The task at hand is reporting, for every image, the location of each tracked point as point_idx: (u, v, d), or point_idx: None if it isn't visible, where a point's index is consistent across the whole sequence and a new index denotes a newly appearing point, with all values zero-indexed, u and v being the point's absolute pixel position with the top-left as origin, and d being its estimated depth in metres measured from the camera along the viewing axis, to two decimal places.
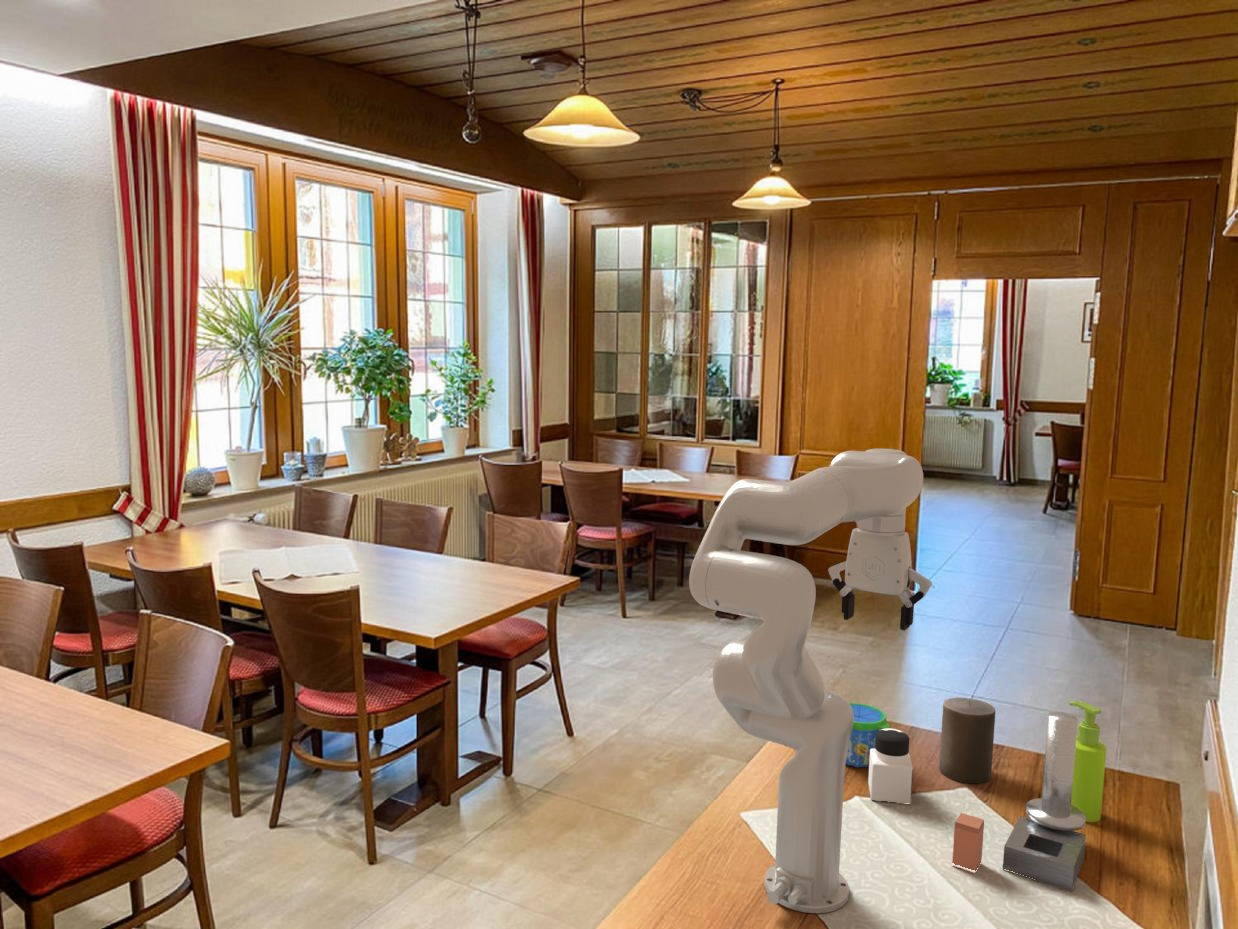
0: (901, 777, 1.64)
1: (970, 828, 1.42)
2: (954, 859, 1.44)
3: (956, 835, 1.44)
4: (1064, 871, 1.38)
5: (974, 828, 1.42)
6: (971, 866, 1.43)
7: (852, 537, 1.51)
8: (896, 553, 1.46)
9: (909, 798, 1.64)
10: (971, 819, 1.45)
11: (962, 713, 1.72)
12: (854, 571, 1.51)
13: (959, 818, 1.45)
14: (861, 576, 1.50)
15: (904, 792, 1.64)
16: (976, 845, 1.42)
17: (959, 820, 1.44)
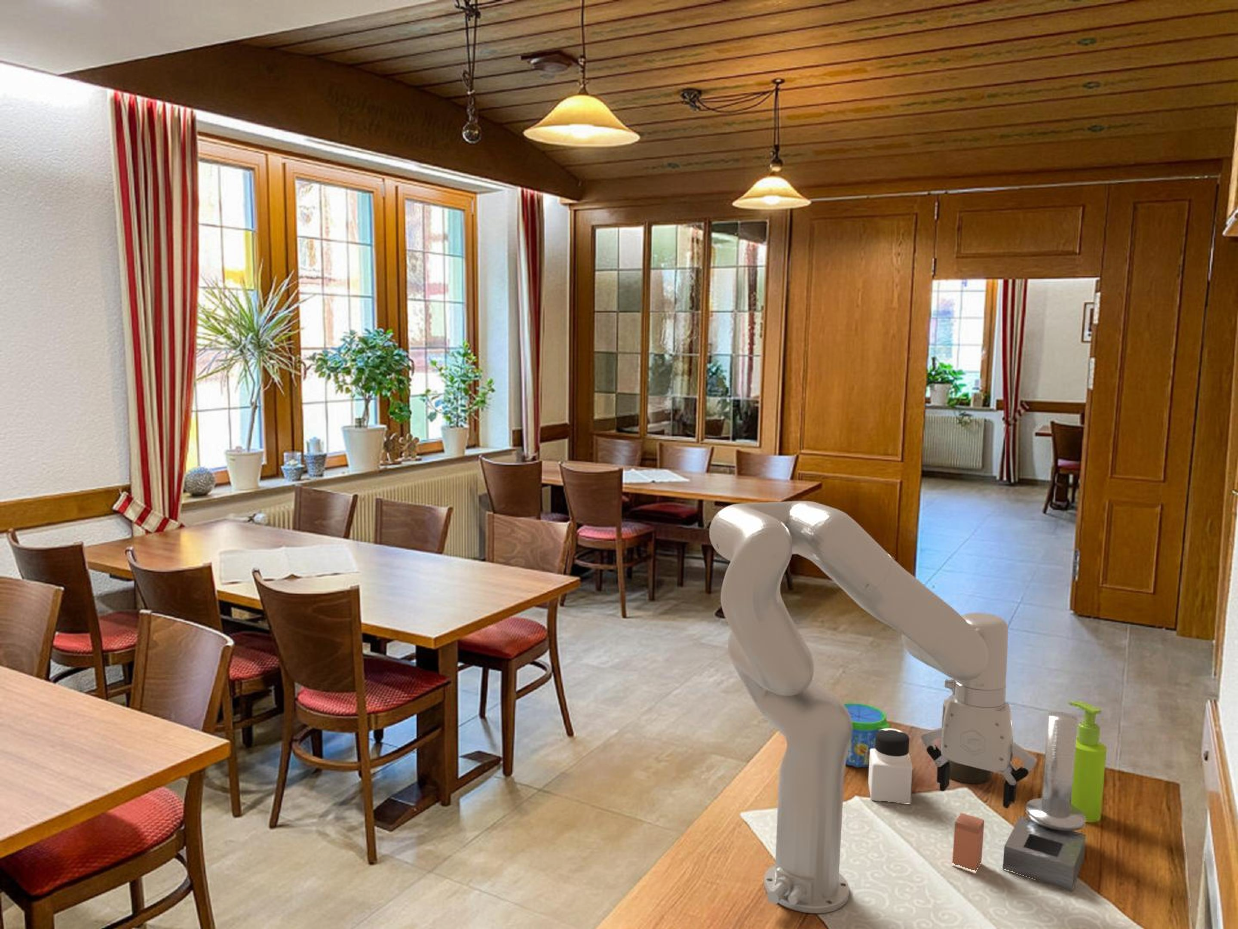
0: (901, 777, 1.64)
1: (970, 828, 1.42)
2: (954, 859, 1.44)
3: (956, 835, 1.44)
4: (1064, 871, 1.38)
5: (974, 828, 1.42)
6: (971, 866, 1.43)
7: (948, 707, 1.42)
8: (998, 729, 1.38)
9: (909, 798, 1.64)
10: (971, 819, 1.45)
11: None
12: (951, 743, 1.42)
13: (959, 818, 1.45)
14: (959, 749, 1.41)
15: (904, 792, 1.64)
16: (976, 845, 1.42)
17: (959, 820, 1.44)
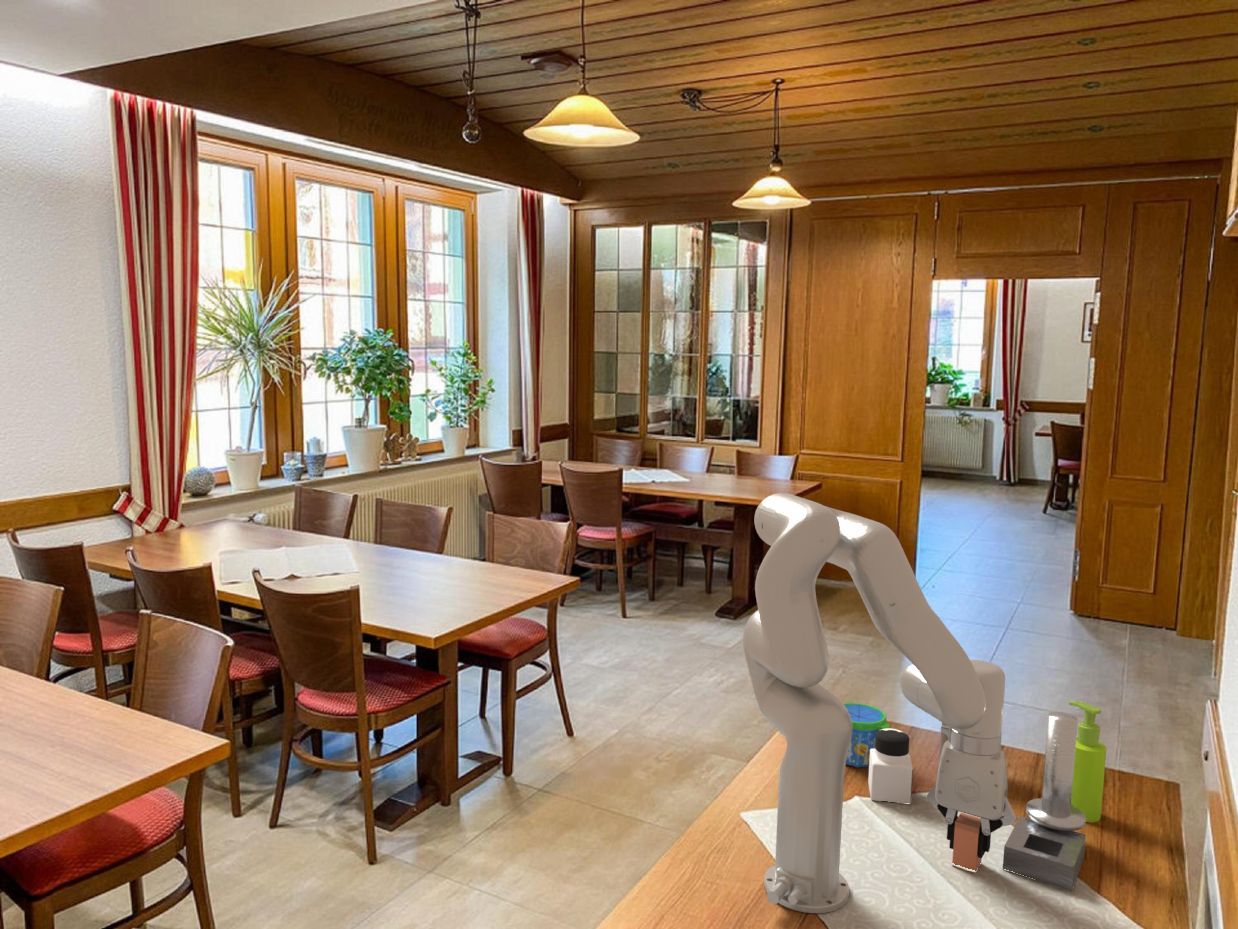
0: (901, 777, 1.64)
1: (970, 828, 1.42)
2: (954, 859, 1.44)
3: (956, 835, 1.44)
4: (1064, 871, 1.38)
5: (974, 828, 1.42)
6: (971, 866, 1.43)
7: (944, 754, 1.43)
8: (992, 777, 1.39)
9: (909, 798, 1.64)
10: (971, 818, 1.45)
11: None
12: (946, 790, 1.43)
13: (959, 818, 1.45)
14: (953, 796, 1.42)
15: (904, 792, 1.64)
16: (976, 845, 1.42)
17: (959, 820, 1.44)
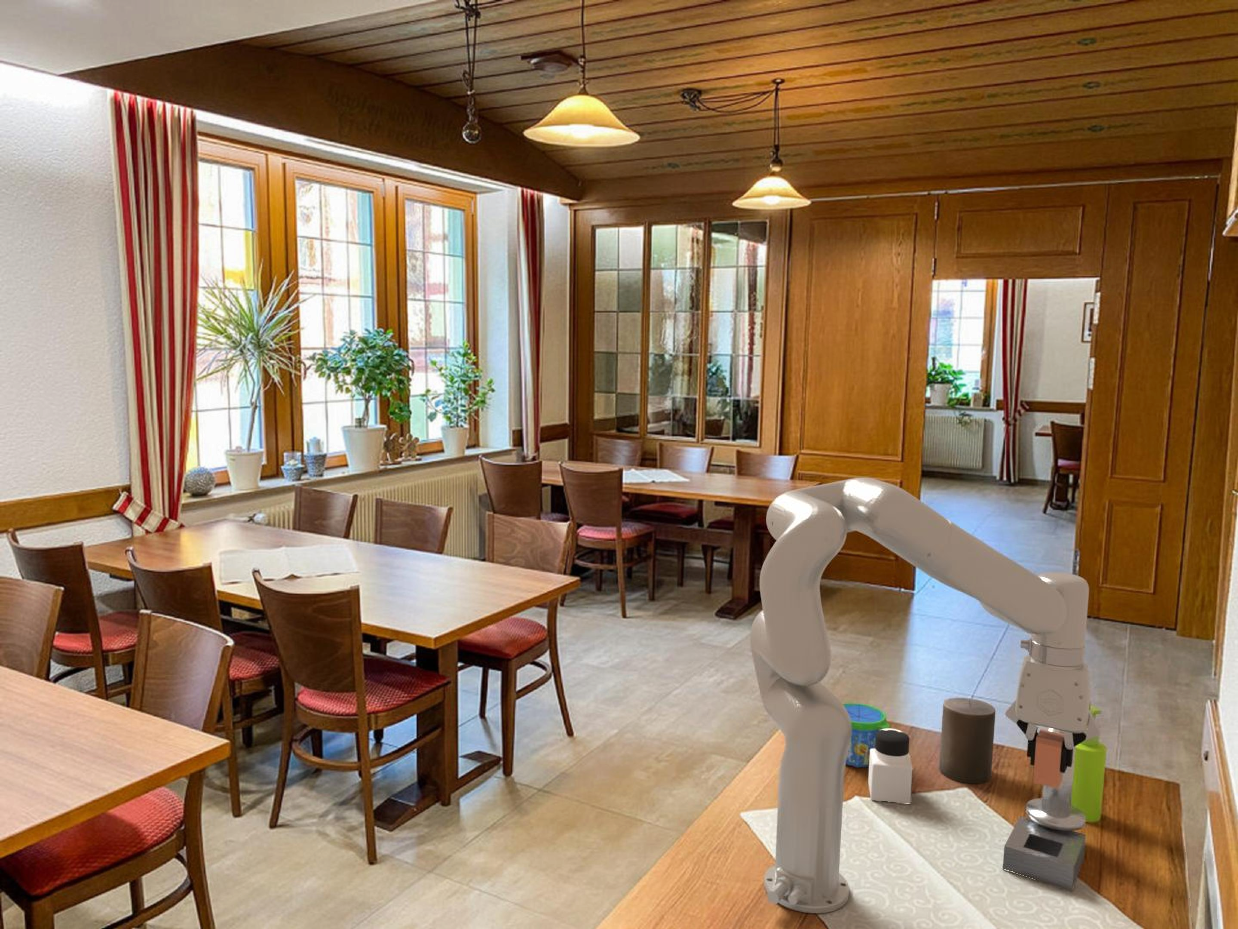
0: (901, 777, 1.64)
1: (1052, 742, 1.40)
2: (1035, 775, 1.42)
3: (1037, 750, 1.41)
4: (1064, 871, 1.38)
5: (1057, 742, 1.39)
6: (1053, 781, 1.40)
7: (1025, 667, 1.40)
8: (1077, 688, 1.36)
9: (909, 798, 1.64)
10: (1052, 734, 1.42)
11: (962, 713, 1.72)
12: (1027, 704, 1.40)
13: (1040, 733, 1.42)
14: (1035, 710, 1.40)
15: (904, 792, 1.64)
16: (1059, 759, 1.39)
17: (1040, 735, 1.41)
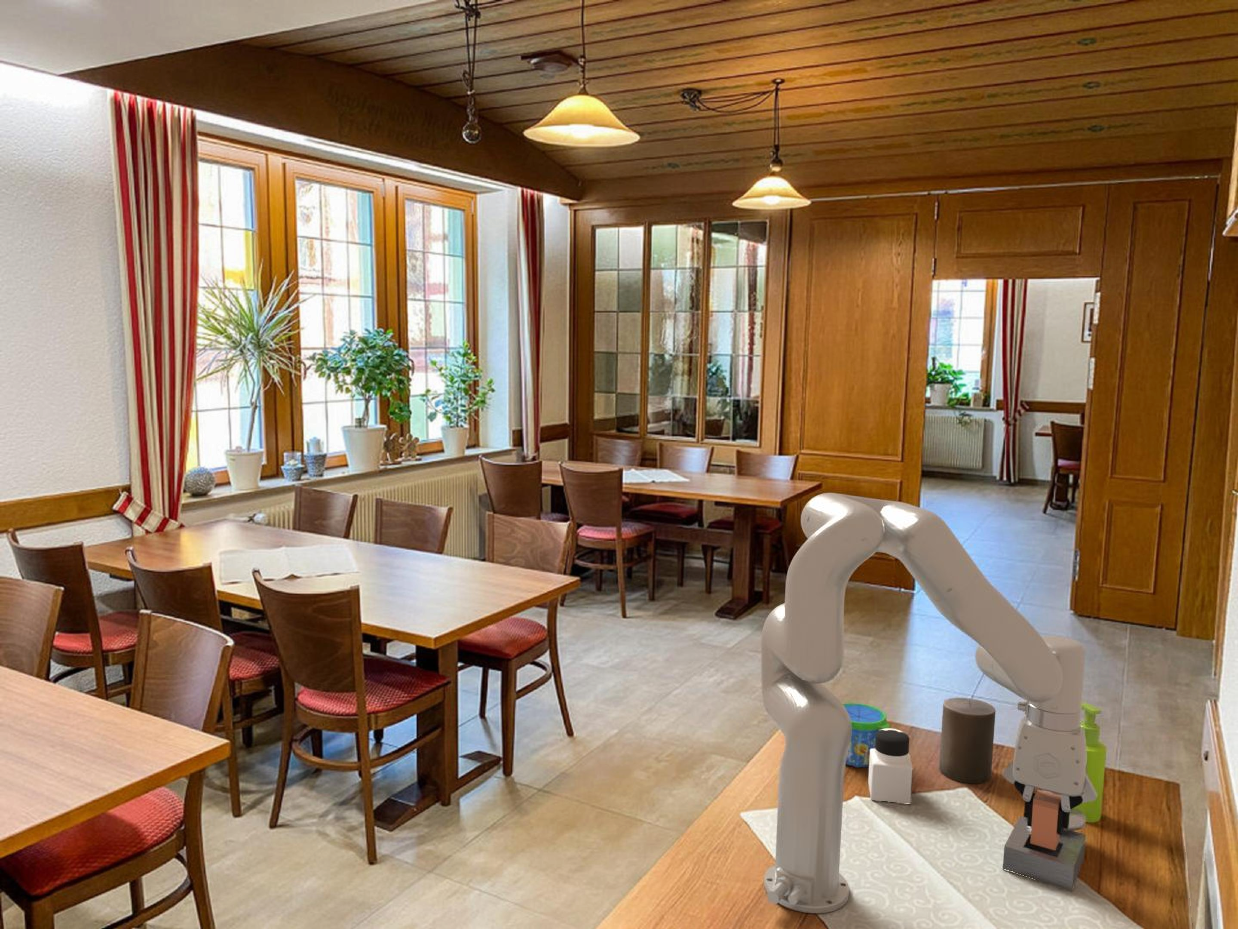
0: (901, 777, 1.64)
1: (1049, 804, 1.41)
2: (1032, 836, 1.43)
3: (1034, 812, 1.42)
4: (1064, 871, 1.38)
5: (1053, 804, 1.41)
6: (1050, 843, 1.41)
7: (1022, 730, 1.42)
8: (1073, 753, 1.37)
9: (909, 798, 1.64)
10: (1049, 795, 1.43)
11: (962, 713, 1.72)
12: (1024, 766, 1.42)
13: (1037, 795, 1.43)
14: (1032, 773, 1.41)
15: (904, 792, 1.64)
16: (1056, 821, 1.41)
17: (1037, 796, 1.43)
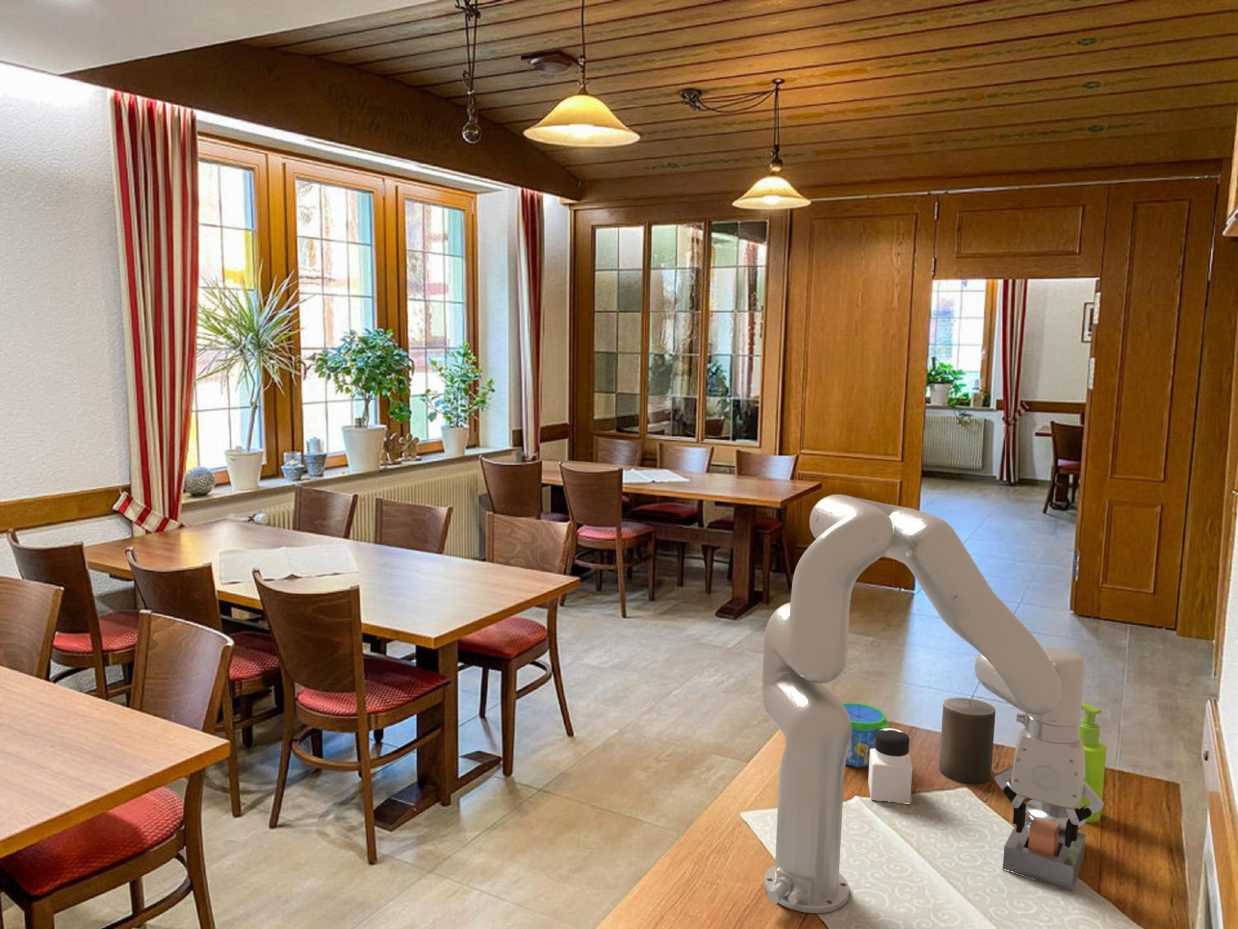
0: (901, 777, 1.64)
1: (1046, 832, 1.41)
2: None
3: (1031, 839, 1.43)
4: (1064, 871, 1.38)
5: (1050, 832, 1.41)
6: None
7: (1020, 742, 1.42)
8: (1072, 765, 1.38)
9: (909, 798, 1.64)
10: (1046, 822, 1.44)
11: (962, 713, 1.72)
12: (1023, 778, 1.42)
13: (1033, 822, 1.44)
14: (1031, 785, 1.41)
15: (904, 792, 1.64)
16: (1052, 849, 1.41)
17: (1034, 824, 1.43)
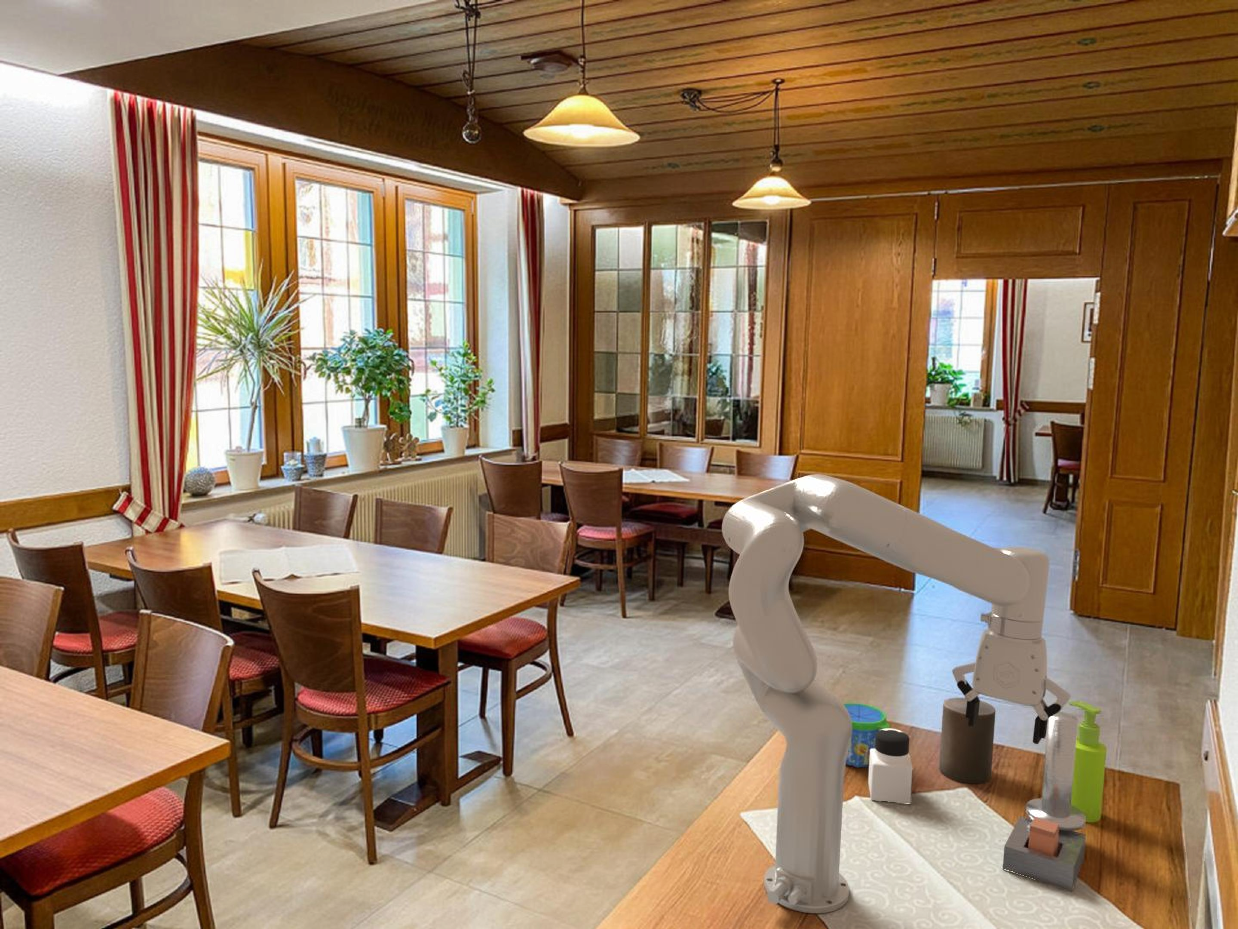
0: (901, 777, 1.64)
1: (1046, 832, 1.41)
2: None
3: (1031, 839, 1.43)
4: (1064, 871, 1.38)
5: (1050, 832, 1.41)
6: None
7: (983, 640, 1.41)
8: (1033, 661, 1.37)
9: (909, 798, 1.64)
10: (1046, 822, 1.44)
11: (962, 713, 1.72)
12: (984, 676, 1.41)
13: (1034, 822, 1.44)
14: (992, 682, 1.40)
15: (904, 792, 1.64)
16: (1052, 849, 1.41)
17: (1034, 824, 1.43)
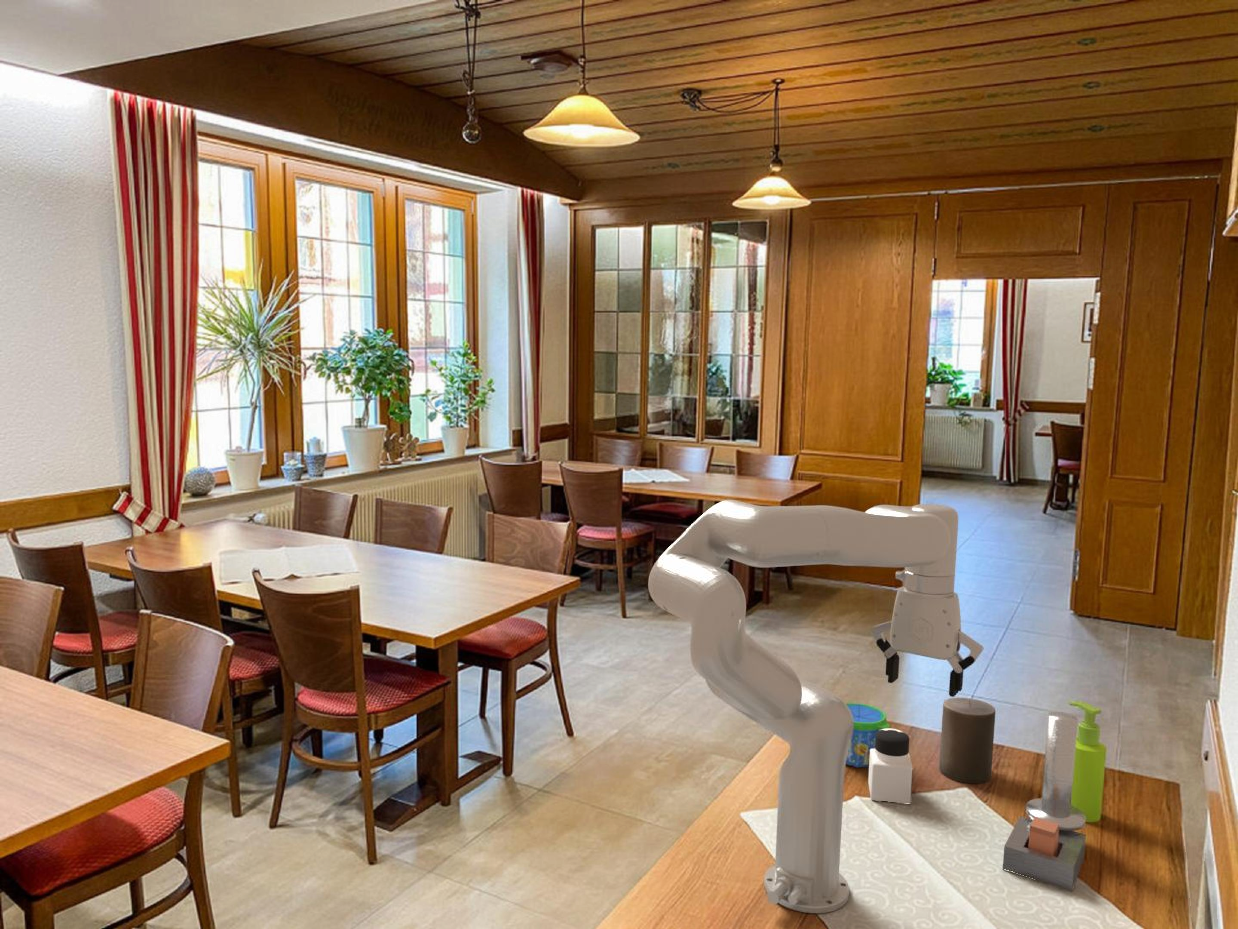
0: (901, 777, 1.64)
1: (1046, 832, 1.41)
2: None
3: (1031, 839, 1.43)
4: (1064, 871, 1.38)
5: (1050, 832, 1.41)
6: None
7: (898, 597, 1.43)
8: (945, 616, 1.39)
9: (909, 798, 1.64)
10: (1046, 822, 1.44)
11: (962, 713, 1.72)
12: (900, 633, 1.43)
13: (1034, 822, 1.44)
14: (907, 638, 1.42)
15: (904, 792, 1.64)
16: (1052, 849, 1.41)
17: (1034, 824, 1.43)
